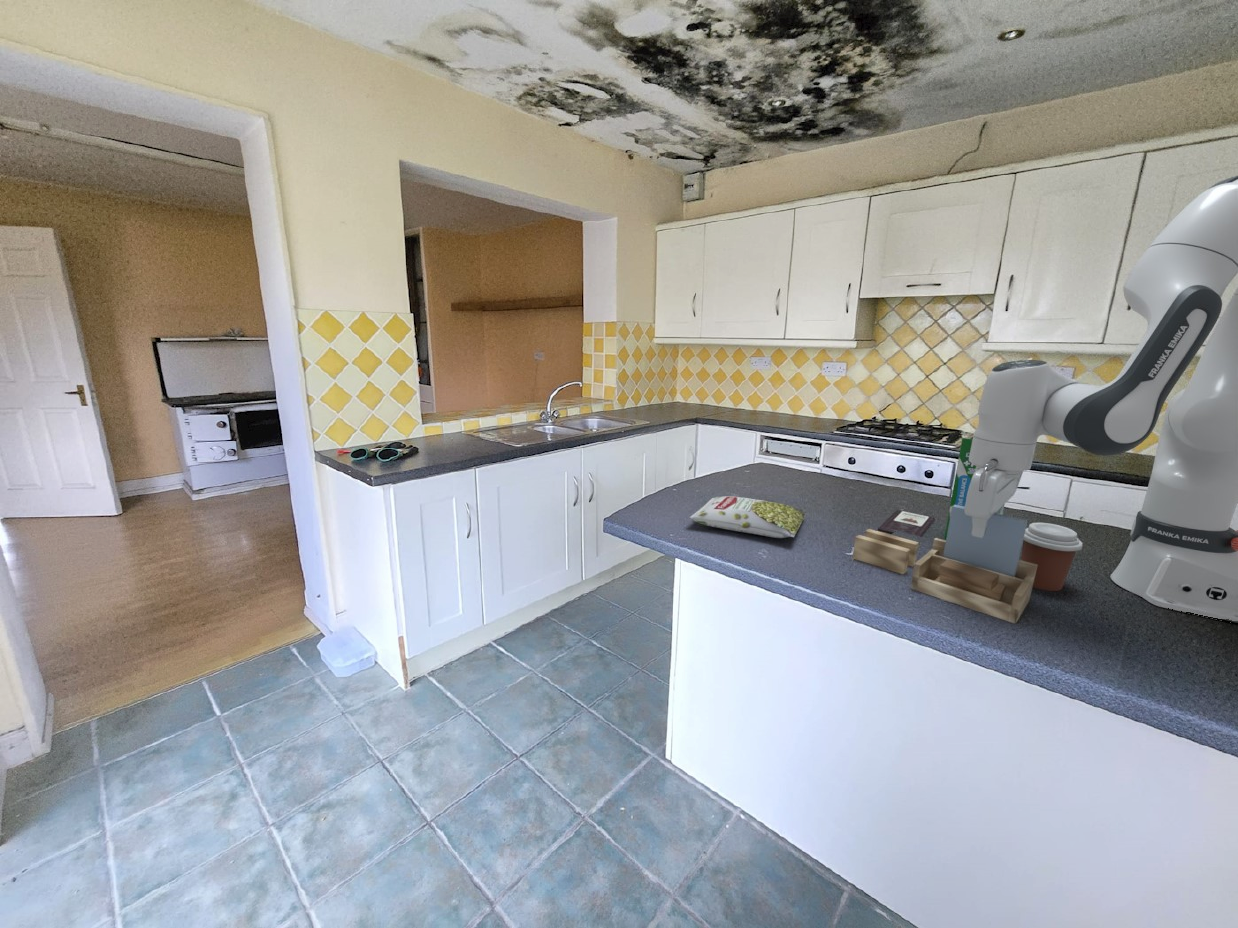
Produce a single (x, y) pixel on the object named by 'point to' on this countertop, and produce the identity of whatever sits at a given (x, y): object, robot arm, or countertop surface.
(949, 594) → the rack
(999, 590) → the offcut
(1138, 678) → the countertop surface
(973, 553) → the sheet
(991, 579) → the offcut
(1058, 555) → the coffee cup
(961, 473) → the milk carton
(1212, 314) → the robot arm
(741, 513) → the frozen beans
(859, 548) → the stand
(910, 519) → the chocolate bar
